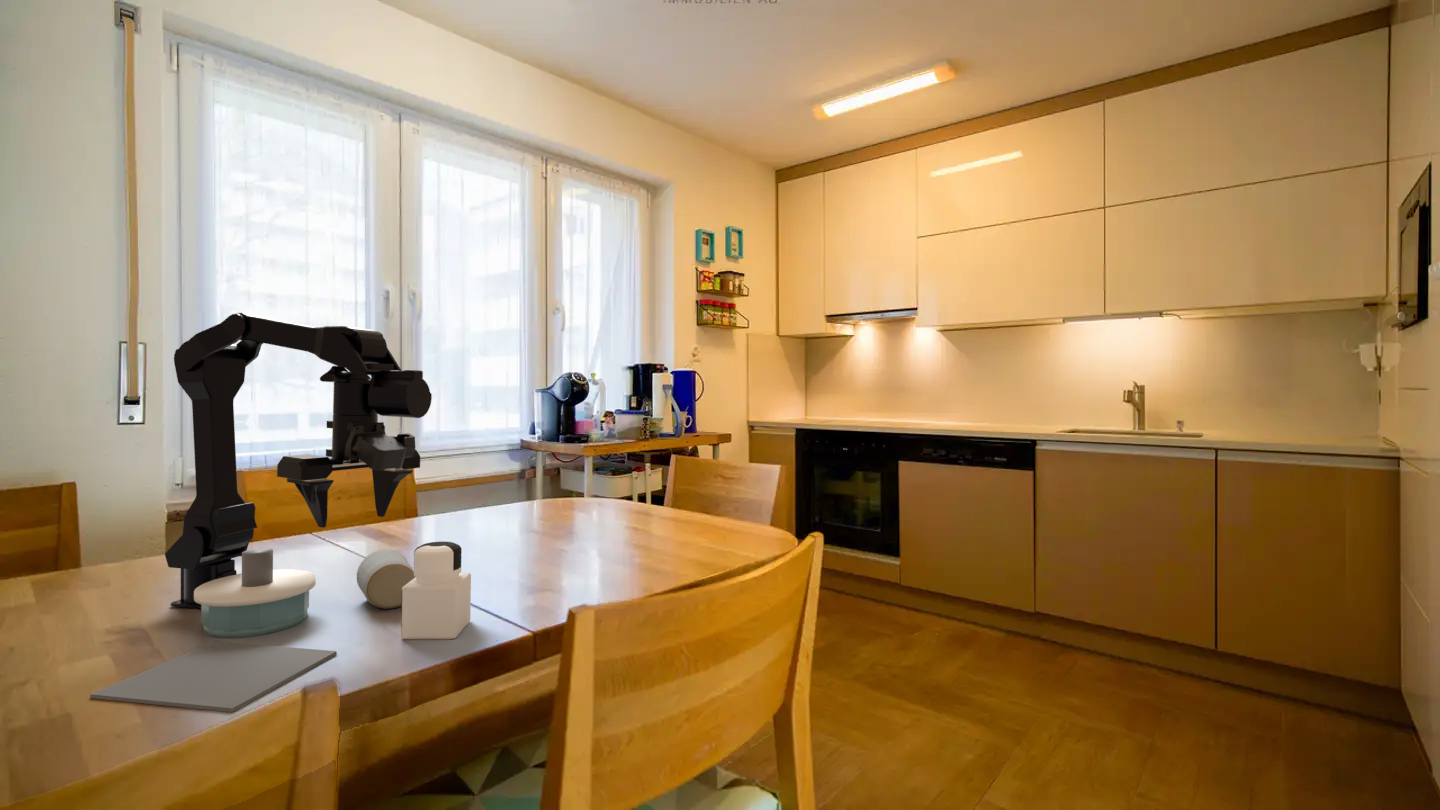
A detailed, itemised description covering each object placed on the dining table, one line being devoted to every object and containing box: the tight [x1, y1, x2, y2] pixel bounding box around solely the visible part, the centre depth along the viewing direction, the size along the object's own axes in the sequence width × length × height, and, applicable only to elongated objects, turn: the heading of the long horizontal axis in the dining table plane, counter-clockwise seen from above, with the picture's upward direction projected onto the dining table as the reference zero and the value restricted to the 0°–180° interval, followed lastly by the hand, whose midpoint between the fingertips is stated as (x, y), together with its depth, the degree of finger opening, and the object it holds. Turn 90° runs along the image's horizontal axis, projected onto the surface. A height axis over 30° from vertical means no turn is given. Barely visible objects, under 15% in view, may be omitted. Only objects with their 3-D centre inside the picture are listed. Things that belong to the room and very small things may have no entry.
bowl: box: [200, 590, 310, 639], centre depth 93 cm, size 12×12×4 cm
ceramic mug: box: [356, 548, 415, 610], centre depth 103 cm, size 11×8×8 cm
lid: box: [194, 547, 317, 607], centre depth 93 cm, size 14×14×6 cm
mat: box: [89, 640, 337, 713], centre depth 76 cm, size 17×15×1 cm
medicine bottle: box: [400, 541, 472, 640], centre depth 91 cm, size 7×7×12 cm
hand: (352, 521), depth 96 cm, fingers open, 9 cm apart
